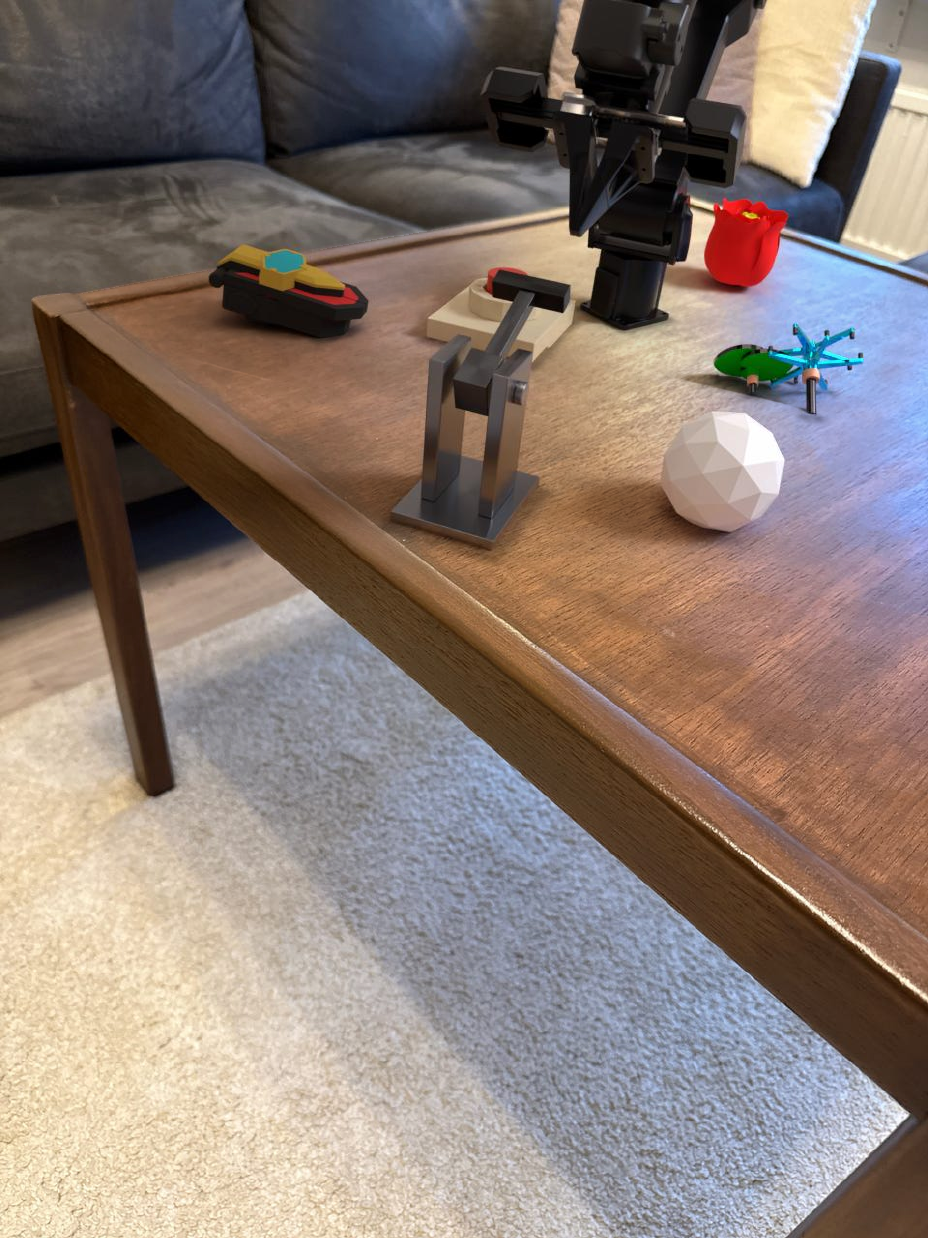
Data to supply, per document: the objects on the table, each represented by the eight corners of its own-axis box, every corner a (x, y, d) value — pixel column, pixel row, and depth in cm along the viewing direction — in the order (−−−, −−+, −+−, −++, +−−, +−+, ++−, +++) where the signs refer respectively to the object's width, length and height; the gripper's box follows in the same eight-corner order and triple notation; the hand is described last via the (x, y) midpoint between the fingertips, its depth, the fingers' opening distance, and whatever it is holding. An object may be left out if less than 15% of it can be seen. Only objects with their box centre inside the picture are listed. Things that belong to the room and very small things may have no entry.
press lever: (499, 291, 64) (498, 261, 62) (569, 307, 63) (571, 277, 61) (434, 402, 59) (430, 373, 57) (509, 422, 57) (509, 393, 55)
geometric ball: (699, 570, 65) (690, 519, 58) (649, 479, 68) (634, 421, 61) (804, 520, 64) (807, 462, 57) (748, 430, 67) (744, 365, 60)
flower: (778, 284, 105) (800, 208, 100) (755, 302, 99) (777, 223, 94) (711, 266, 108) (729, 192, 103) (686, 283, 102) (703, 205, 97)
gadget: (348, 360, 83) (358, 299, 79) (204, 314, 83) (208, 251, 79) (368, 333, 88) (379, 275, 84) (232, 290, 88) (237, 230, 84)
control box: (475, 300, 93) (479, 259, 91) (572, 323, 91) (578, 281, 88) (425, 341, 84) (428, 297, 82) (531, 367, 82) (537, 322, 79)
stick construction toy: (859, 363, 83) (865, 308, 76) (861, 434, 80) (868, 385, 73) (717, 375, 86) (710, 324, 79) (715, 443, 84) (708, 398, 77)
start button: (494, 283, 87) (496, 263, 86) (531, 291, 86) (533, 272, 85) (480, 295, 84) (481, 275, 83) (517, 303, 84) (520, 283, 82)
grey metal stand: (445, 465, 67) (457, 317, 61) (537, 491, 66) (560, 342, 59) (390, 526, 61) (396, 367, 54) (491, 557, 59) (510, 397, 52)
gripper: (503, -72, 64) (427, 137, 62) (784, -38, 59) (707, 189, 58) (528, 50, 74) (463, 231, 73) (766, 88, 70) (701, 281, 68)
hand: (574, 232), depth 68 cm, fingers closed
